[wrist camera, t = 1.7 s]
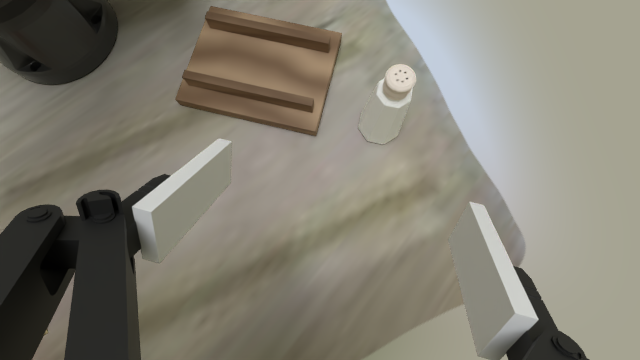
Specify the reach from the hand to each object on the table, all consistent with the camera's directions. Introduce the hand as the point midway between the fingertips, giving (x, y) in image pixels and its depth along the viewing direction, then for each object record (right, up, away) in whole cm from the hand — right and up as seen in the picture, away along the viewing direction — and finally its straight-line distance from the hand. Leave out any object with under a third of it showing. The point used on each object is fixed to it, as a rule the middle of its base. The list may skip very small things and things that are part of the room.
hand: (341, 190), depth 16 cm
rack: (-9, +15, +23) cm, 29 cm away
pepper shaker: (+6, +8, +21) cm, 23 cm away
